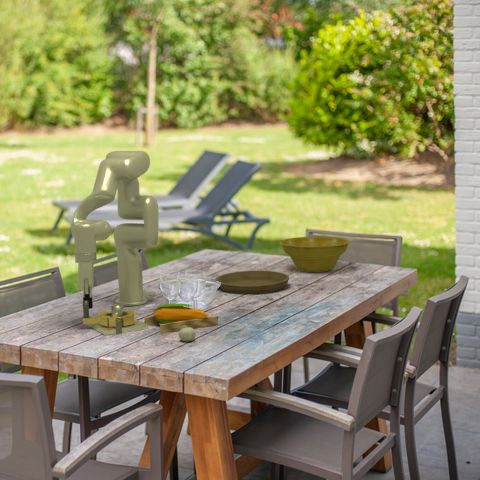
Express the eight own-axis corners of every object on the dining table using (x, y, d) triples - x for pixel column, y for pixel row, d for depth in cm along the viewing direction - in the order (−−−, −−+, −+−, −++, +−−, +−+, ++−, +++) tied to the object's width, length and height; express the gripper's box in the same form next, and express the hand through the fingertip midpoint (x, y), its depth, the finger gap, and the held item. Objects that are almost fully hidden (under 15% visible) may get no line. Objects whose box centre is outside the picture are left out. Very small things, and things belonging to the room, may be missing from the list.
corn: (156, 299, 346) (210, 301, 341) (158, 319, 347) (211, 321, 343) (150, 305, 339) (204, 307, 334) (151, 326, 340) (205, 328, 336)
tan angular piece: (137, 318, 346) (136, 296, 345) (133, 326, 334) (132, 303, 333) (86, 319, 346) (85, 297, 345) (80, 327, 334) (79, 304, 333)
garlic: (175, 341, 319) (174, 326, 318) (184, 338, 323) (184, 322, 322) (190, 343, 316) (189, 328, 315) (199, 340, 320) (198, 324, 319)
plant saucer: (249, 299, 383) (249, 287, 382) (200, 288, 406) (200, 277, 405) (304, 287, 403) (304, 276, 402) (255, 277, 426) (254, 267, 425)
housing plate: (130, 320, 351) (129, 298, 350) (148, 329, 337) (148, 306, 335) (88, 326, 343) (87, 304, 342) (105, 335, 329) (104, 312, 328)
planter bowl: (304, 261, 462) (303, 234, 460) (363, 267, 443) (363, 238, 441) (266, 272, 436) (265, 243, 434) (327, 279, 418) (327, 248, 416)
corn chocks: (199, 317, 353) (199, 309, 352) (218, 324, 340) (218, 316, 340) (144, 325, 342) (144, 317, 342) (161, 333, 330) (161, 325, 329)
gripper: (76, 254, 349) (78, 304, 351) (73, 261, 334) (76, 313, 337) (97, 254, 350) (99, 303, 352) (95, 260, 335) (98, 312, 337)
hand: (88, 308), depth 344 cm, fingers closed
